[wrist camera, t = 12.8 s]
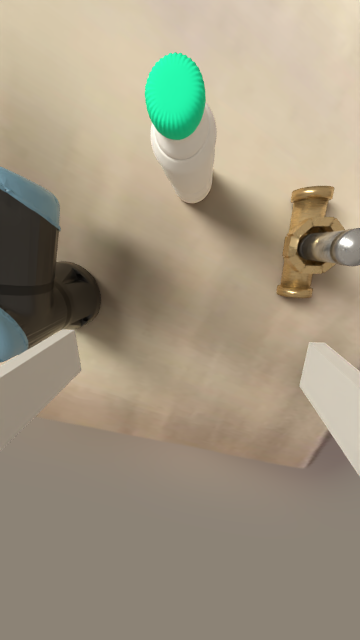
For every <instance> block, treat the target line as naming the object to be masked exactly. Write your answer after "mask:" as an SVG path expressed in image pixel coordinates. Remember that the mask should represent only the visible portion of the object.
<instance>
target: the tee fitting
mask: <svg viewBox="0 0 360 640" xmlns="http://www.w3.org/2000/svg"><path fill="white" fill-rule="evenodd" d="M333 193H334V187H331V186H313V187H306V188H301V189H297V190H294V191H293V192H292V197H291V203H294V204H293V211H292V217H291V223H290V229H289V233H288V234H287V236H288V237H285V243H284V249H283V256H285V257H283V258H284V266H283V272H282V279H281V285H278V286H277V292H276V293H277V294H278V295H281V296H286V297H293V298H309V297H311V296H312V291H313V288H311V287H310V285H311V280H312V276H313V274H322V273H325V272H326V271H327V270H329V269H330V268H331V267H332V266H334V265H335V263H328V262H321V261H314V260H305V259H302V258H301V257H300V256H299V255H298V253H297V247H298V243H299V241H300V240H301V239H302V238H303V237H304V236H306V235H308V234H312V233H324V232H333V231H342V230H345V229H344V228H343V226H342V225H341V224H340V222H339V221H338V220H337V218H335V219H334V217H325V213H326V209H327V204H328V200H331V199H332V197H333Z"/></svg>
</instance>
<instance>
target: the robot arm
mask: <svg viewBox="0 0 360 640" xmlns="http://www.w3.org/2000/svg"><path fill="white" fill-rule="evenodd" d="M59 216H60V205H59V202H58V200H57V198H56V197H55V196H54V195H53V194H52V193H51V192H50V191H48V190H47V189H45V188H43V187H41V186H40V185H38V184H36V183H34V182H32V181H30V180H28V179H26V178H24V177H22V176H20V175H18V174H16V173H14V172H11V171H9V170H7V169H5V168H3V167H1V166H0V362H4V361H6V360H8V359H10V358H12V357H14V356H16V355H18V356H16V357H14V358H13V359H11V360H9V361H7V362H6V363H4V364H2V365H1V366H0V451H1V450H2V449H3V448H4V447H5V446H6V445H7V444H8V443H9V442H10V441H11V440H12V439H13V438H14V437H15V436H16V435H17V434H18V433H19V432H20V431H21V430H22V429H23V428H24V427H25V426H26V425H27V424H28V423H29V422H30V421H31V420H32V419H33V418H34V417H35V416H36V415H37V414H38V413H39V412H40V411H41V410H42V409H43V408H44V407H45V406H46V405H47V404H48V403H49V402H50V401H51V400H52V399H53V398H54V397H55V396H56V395H57V394H58V393H59V392H60V391H61V390H62V389H63V388H64V387H65V386H66V385H67V384H68V383H69V382H70V381H71V380H72V379H73V378H74V377H75V376H76V375H77V374H78V373H79V372H80V371H81V364H80V358H79V352H78V346H77V340H76V334H75V330H66V329H74V328H79V327H82V326H84V325H86V324H87V323H89V322H90V321H92V320H93V319H94V318H95V316H96V315H97V313H98V311H99V309H100V304H101V296H100V291H99V288H98V286H97V283H96V282H95V280H94V279H93V277H92V276H91V275H90V274H89V273H88V272H87V271H86V270H85V269H84V268H82V267H81V266H79V265H77V264H74V263H71V262H56V258H57V248H58V237H59V231H60V230H61V228H60V226H59ZM60 330H61V331H60ZM58 331H59V332H58ZM56 332H57V333H56ZM53 334H54V335H53ZM48 337H49V338H48ZM299 386H300V388H301V389H302V391H303V392H304V394H305V395H306V397H307V398H308V400H309V401H310V403H311V404H312V406H313V407H314V409H315V410H316V412H317V413H318V415H319V416H320V418H321V419H322V421H323V422H324V424H325V425H326V427H327V428H328V430H329V431H330V433H331V434H332V436H333V437H334V439H335V440H336V442H337V443H338V445H339V446H340V448H341V449H342V451H343V452H344V454H345V455H346V457H347V458H348V460H349V461H350V463H351V464H352V466H353V467H354V469H355V470H356V472H357V473H358V475H359V476H360V371H359V370H358V369H356V368H355V367H354V366H353V365H351V364H350V363H349V362H348V361H347V360H345V359H344V358H343V357H342V356H340V355H339V354H338V353H337V352H335V351H334V350H333V349H332V348H331V347H329V346H328V345H327V344H326V343H319V342H309V345H308V350H307V354H306V359H305V363H304V368H303V372H302V376H301V381H300V385H299Z"/></svg>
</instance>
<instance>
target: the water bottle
mask: <svg viewBox="0 0 360 640" xmlns="http://www.w3.org/2000/svg"><path fill="white" fill-rule="evenodd" d="M145 90H146V91H145V98H146V105H147V111H148V113H149V116H150V119H151V121H152V126H151V144H152V149H153V152H154V155H155V157H156V159H157V161H158V162H159V164H160V165H161V166H162V169H163V171H164V173H165V174H166V176H167V178H168V179H169V181H170V182H171V185H172V187H173V188H174V190H175V192H176V194H177V196H178V197H179V198H180V199H181V200H183V201H184V202H187V203H197V202H199V201H201V200H203V199H204V198H205V197H206V196H207V194H208V193H209V191H210V189H211V185H212V175H213V164H214V153H215V143H216V123H215V119H214V115H213V113H212V111H211V109H210V107H209V105H208V104H207V103H206V102H205V87H204V81H203V78H202V74H201V73H200V70H199V68H198V67H197V66H196V64H195V62H193V61H192V60H191V58H188V57H187V56H186V55H182V53H179V54H177V53H176V52H175V53H174V54H172V53H170V54H169V55H168V56H167V55H165V56H164V58H161V59H160V60H159V62H156V64H155V66H154V67H153V68H152V71H151V72H150V73H149V78H148V79H147V84H146V86H145Z"/></svg>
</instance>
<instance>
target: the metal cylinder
mask: <svg viewBox="0 0 360 640" xmlns="http://www.w3.org/2000/svg"><path fill="white" fill-rule="evenodd" d="M297 253H298V255H299V256H300V257H301V258H302V259H305V260H314V261H321V262H328V263H335V264H340V265H347V266H358V265H360V228H356V229H349V230H342V231H333V232H324V233H312V234H308V235H306V236H304V237H303V238H302V239H301V240H300V241H299V243H298V247H297Z"/></svg>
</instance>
